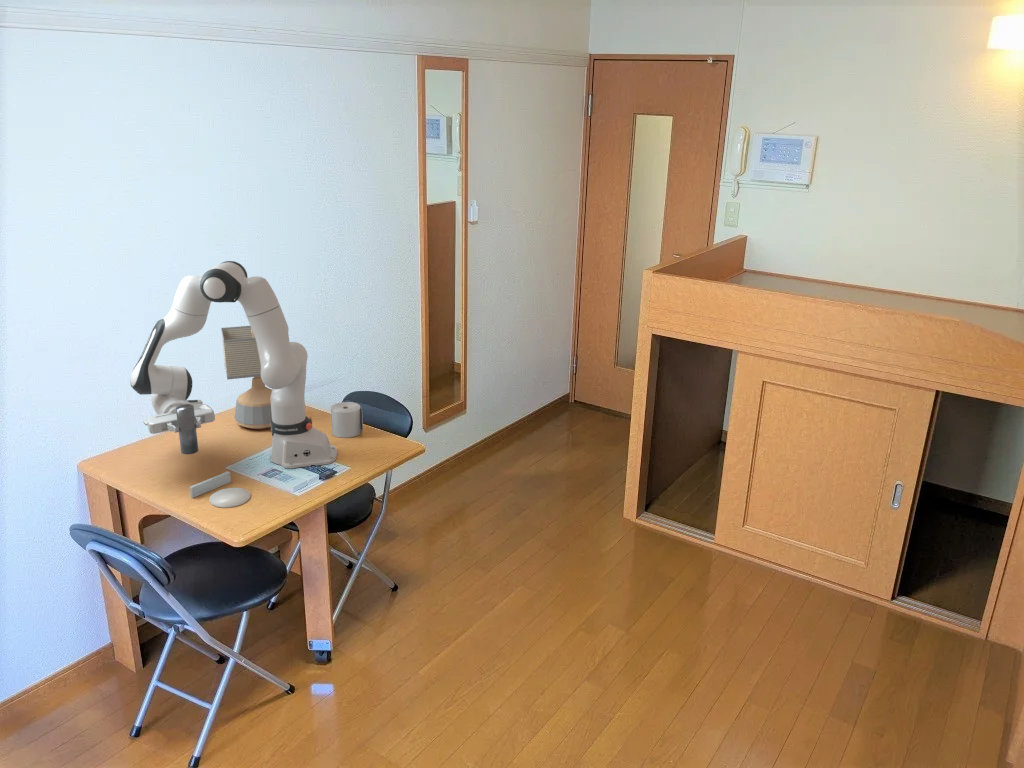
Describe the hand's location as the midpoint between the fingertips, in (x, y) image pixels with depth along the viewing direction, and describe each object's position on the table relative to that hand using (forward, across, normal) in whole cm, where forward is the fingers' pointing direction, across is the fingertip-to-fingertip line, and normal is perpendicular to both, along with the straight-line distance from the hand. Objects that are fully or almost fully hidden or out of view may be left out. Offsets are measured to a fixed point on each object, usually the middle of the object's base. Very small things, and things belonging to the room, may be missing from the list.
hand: (187, 427), depth 262 cm
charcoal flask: (-1, 0, +8) cm, 8 cm away
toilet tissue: (-10, +58, +19) cm, 62 cm away
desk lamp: (-35, +35, +19) cm, 53 cm away
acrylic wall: (+8, +3, +19) cm, 21 cm away
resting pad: (+17, +6, +19) cm, 26 cm away
